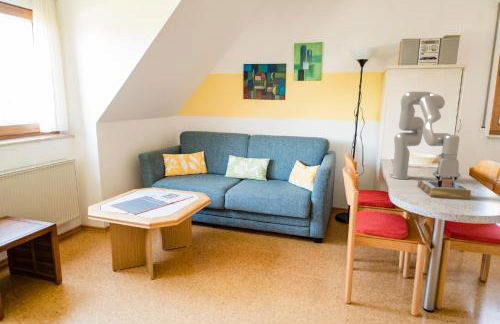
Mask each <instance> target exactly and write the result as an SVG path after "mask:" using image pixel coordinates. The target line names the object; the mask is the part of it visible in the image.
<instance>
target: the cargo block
mask: <svg viewBox="0 0 500 324" xmlns="http://www.w3.org/2000/svg"><path fill="white" fill-rule="evenodd" d="M452 182H453V179H451V178H450V177H443V178H442V186H441V187H445V188H452Z"/></svg>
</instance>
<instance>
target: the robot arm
mask: <svg viewBox="0 0 500 324" xmlns="http://www.w3.org/2000/svg"><path fill="white" fill-rule="evenodd" d="M445 103H446V100H445V98H444V97H443V96H441V95H439V94H437V93H434V92H431V91H430V92H429V91H415V90H414V91H407V92H405V93H404V94H403V95H402V96H401V99H400V115H399V121H398V122H399V123H398V128H399V129H400V130H401V131H404V132H398V133H397V134H395V136H394V137H393V140H394V155H393V166H392V173H390V175H389V177H390V178H393V179H397V180H408V179H410V175H408V171H409V163H410V162H409V161H410V154H411V153H410V150H409V148H408V147H417V146H419V145H420V144H421V142H422V138H423V139H424V141H425V143H426V144H427V145H428V146H429V147H442V148H441V149H442V150H441V153H440V154H439V155H438V157H440V158H439V159H438V163H437V166H436V170H435V171H434V172H433V173H432V175H433V177H435V179H436V180H437V182H438V187H441V186H442V178H443V177H450V178H451V179H453V182H454V183H455V181H457V180H458V179H459V178H461V177H462V174H460V172H459V169H460V168H459V167H460V166H459V165H460V164H459V163H460V161H459V159H458V151H459V146H460V145H459V143H460V136H459V135H457V134H450V133H447V132H446V133H445V132H439V133H438V132H434V130H433V128H432V127H433V124H435V123H436V122H438V121H439V120H440V119H441V118H442V115H441V112H440V110H441V109H443V108H444V106H445V105H446V104H445ZM415 105H416V106H420V109H421V112H422V114H423V117H424V119H423V117H420V116H415V113H416V109H415V107H414V106H415ZM424 121H425V122H424ZM405 131H406V132H405ZM453 182H452V187H453Z"/></svg>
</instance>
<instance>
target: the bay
mask: <svg viewBox="0 0 500 324" xmlns="http://www.w3.org/2000/svg"><path fill="white" fill-rule="evenodd" d="M453 183H455V181H454V182H453ZM416 187H418V188H419V189H420V190H421V191H422V192H423V193H425V195H428V196H429V197H430V198H440V199H442V198H443V199H457V200H458V199H459V200H460V199H461V200H470V199H471V193H472V191H471V190H470V189H467V190H459V189H440V188H430V187H429V186H427V185H426V182H423V181H422V180H418V181H417V186H416Z"/></svg>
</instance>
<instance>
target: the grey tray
mask: <svg viewBox="0 0 500 324" xmlns="http://www.w3.org/2000/svg"><path fill="white" fill-rule="evenodd" d="M425 184H426V185H427V186H429V187H430V188H440V189H459V190H468V189H467V188H466V187H464V186H462V185H461V184H459V183H457V182H454V183H453V187H452V188H445V187H438V181H431V180H426V181H425Z"/></svg>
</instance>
